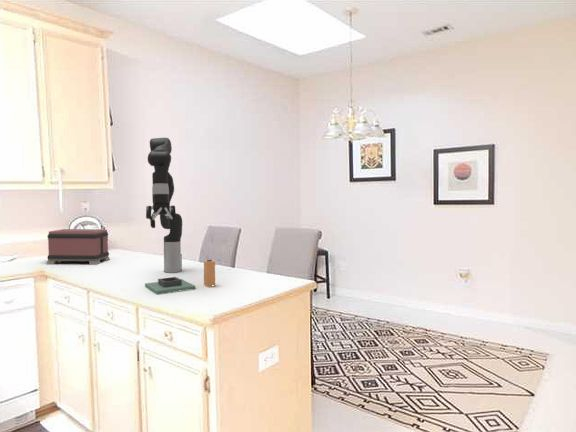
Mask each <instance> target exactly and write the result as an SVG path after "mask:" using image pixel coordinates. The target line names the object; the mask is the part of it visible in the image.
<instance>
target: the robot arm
mask: <svg viewBox="0 0 576 432" xmlns="http://www.w3.org/2000/svg"><path fill="white" fill-rule="evenodd" d="M149 148H150V151H149V153H148V154H147V163H148V164H149V166H151V167H153V169H154V171H153V172H152V175H151V176H152V177H151V178H152V186H151V190H152V191H151V194H152V197H151V198H152V199H151V200H152V205H147V206H145V207H146V209H145V214H146V215H145V218H146V219H148V220H149V221H150V227H151V228H152V229H155V228H156V220H155V219H156V218H157V217H158V216H159V222H160V226H161V227H162V228H163V229H164V230H169V233H168V234H167V235H165V236H164V237H163V272H164V273H180V272H181V271H183V263H182V262H183V259H182V258H183V255H182V251H181V250H182V248H181V246H182V245H181V242H182V241H181V239H182V234H183V218H182V216H181V214H179V213H176V206H175V205H171V200H172V198H173V196H174V193H175V184H174V179H173V176H172V175H171V173H170V172H169V168H170V166H171V162H172V156H171V153H172V142H171V140H170V138H169V137H157V138H156V137H155V138H154V137H153V138H150V139H149ZM152 211H153V212H152Z"/></svg>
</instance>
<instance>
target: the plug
mask: <svg viewBox="0 0 576 432" xmlns="http://www.w3.org/2000/svg"><path fill="white" fill-rule="evenodd" d="M204 285H206V286H211V287H213V286H212V285H215V286H216V261H215V260H212V259H206V260H204V261H203V286H204ZM206 286H205V287H206Z"/></svg>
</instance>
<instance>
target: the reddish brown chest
mask: <svg viewBox="0 0 576 432" xmlns="http://www.w3.org/2000/svg"><path fill="white" fill-rule="evenodd" d="M108 236H109V232H108V230H107V229H105V228H104V229H102V228H101V229H98V228H97V229H94V228H93V229H92V228H91V229H89V228H88V229H87V228H86V229H85V228H84V229H83V228H81V229H80V228H76V229H75V228H64V229H56V230H50V231H48V234H47V241H48V243H47V245H48V247H47V248H48V249H47V250H48V255H47V262H46V265H47V266H49V265H51V266H52V265H56V264H58V263H59V262H89V265H90V266H97V265H98V266H99V265H100V264H101V262H110V261H111V259H110V256H109V255H110V252H109V247H108V246H109V242H108V241H109V239H108Z"/></svg>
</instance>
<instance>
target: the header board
mask: <svg viewBox="0 0 576 432" xmlns="http://www.w3.org/2000/svg"><path fill="white" fill-rule="evenodd" d="M144 287H145V288H146V289H148V290H149V291H151V292H153V293H154V294H155V295H163V294H162V293H164V294H169V293H168V292H171V293H174V292H173V291H178V292H180V291H179V290H185V291H187V290H186V289H192V290H196V285H194V284H192V283H190V282H189V281H187V280H184V279H183V278H178V277H176V276H172V277H170V276H169V277H163V278H158V279H157V281H155V282H146V283H144Z"/></svg>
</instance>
